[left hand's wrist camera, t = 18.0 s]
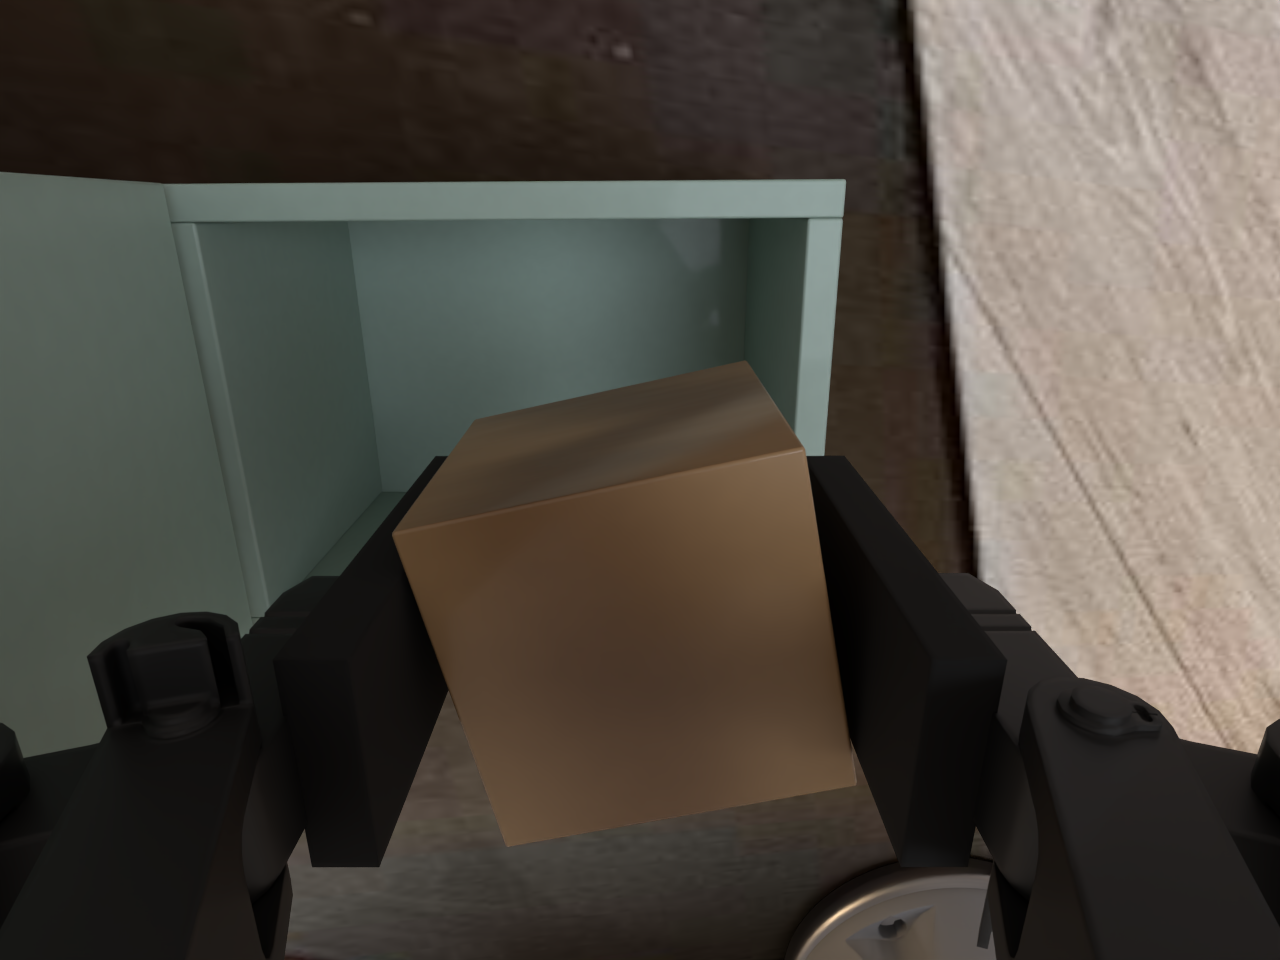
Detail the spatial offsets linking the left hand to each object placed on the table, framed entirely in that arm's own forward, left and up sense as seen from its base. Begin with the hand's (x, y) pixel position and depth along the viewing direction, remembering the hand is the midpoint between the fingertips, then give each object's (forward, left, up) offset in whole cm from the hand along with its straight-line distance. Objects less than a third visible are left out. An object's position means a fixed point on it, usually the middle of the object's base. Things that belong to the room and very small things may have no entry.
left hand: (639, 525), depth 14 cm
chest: (+3, +1, -17) cm, 17 cm away
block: (0, 0, 0) cm, 0 cm away
